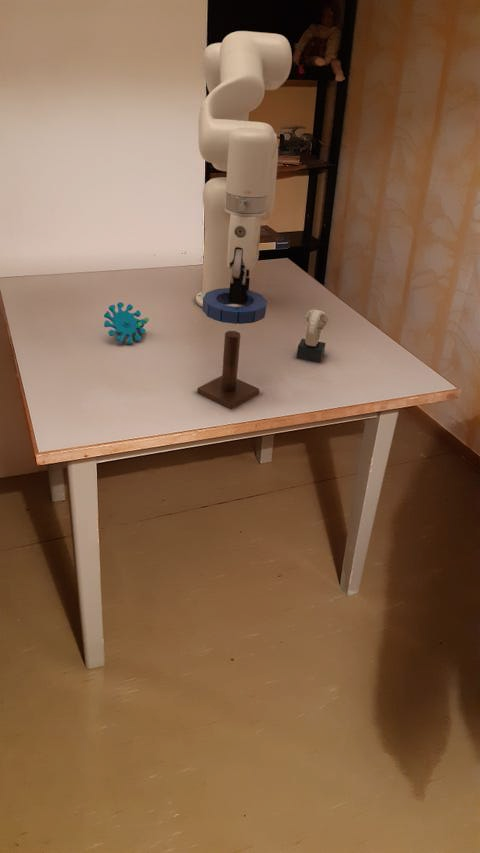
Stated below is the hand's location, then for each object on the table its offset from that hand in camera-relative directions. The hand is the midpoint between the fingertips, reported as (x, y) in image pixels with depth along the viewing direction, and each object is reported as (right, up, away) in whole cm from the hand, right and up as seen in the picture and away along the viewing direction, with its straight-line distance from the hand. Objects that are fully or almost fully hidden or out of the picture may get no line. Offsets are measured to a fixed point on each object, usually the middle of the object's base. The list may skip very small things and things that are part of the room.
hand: (238, 299), depth 130 cm
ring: (-1, -3, -3) cm, 5 cm away
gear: (-26, -5, +25) cm, 36 cm away
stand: (-2, -18, +6) cm, 19 cm away
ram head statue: (+16, -9, +24) cm, 30 cm away
